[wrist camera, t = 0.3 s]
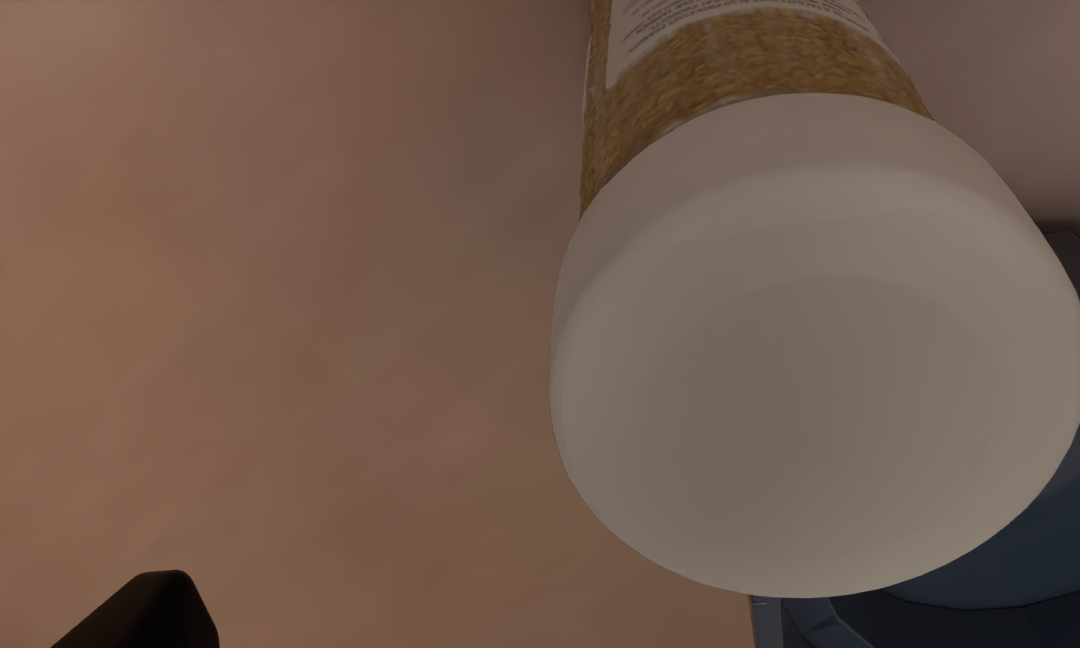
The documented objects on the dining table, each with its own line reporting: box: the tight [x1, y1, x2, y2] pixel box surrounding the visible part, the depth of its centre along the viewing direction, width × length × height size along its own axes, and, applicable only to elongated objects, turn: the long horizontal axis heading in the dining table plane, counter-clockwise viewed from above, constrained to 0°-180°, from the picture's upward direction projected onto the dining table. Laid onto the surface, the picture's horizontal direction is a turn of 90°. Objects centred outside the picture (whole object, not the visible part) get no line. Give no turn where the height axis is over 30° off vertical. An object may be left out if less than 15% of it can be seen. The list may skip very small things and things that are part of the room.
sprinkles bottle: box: [549, 0, 1080, 598], centre depth 14 cm, size 5×5×13 cm
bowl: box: [748, 231, 1080, 648], centre depth 23 cm, size 13×13×5 cm
